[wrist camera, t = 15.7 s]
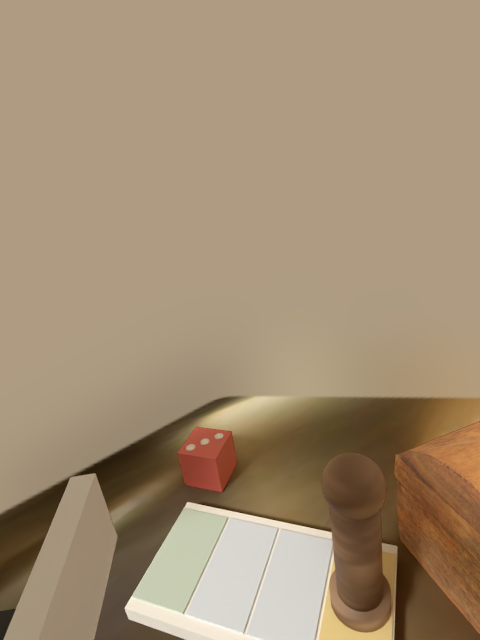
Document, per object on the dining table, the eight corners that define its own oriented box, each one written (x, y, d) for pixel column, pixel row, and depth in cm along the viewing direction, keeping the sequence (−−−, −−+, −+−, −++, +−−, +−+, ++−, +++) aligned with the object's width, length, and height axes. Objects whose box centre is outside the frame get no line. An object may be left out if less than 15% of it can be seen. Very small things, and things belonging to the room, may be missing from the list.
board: (128, 619, 37) (124, 606, 36) (190, 511, 47) (187, 500, 46) (391, 712, 28) (391, 699, 28) (397, 557, 39) (397, 544, 38)
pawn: (326, 622, 33) (310, 481, 27) (334, 567, 37) (322, 434, 31) (390, 640, 31) (387, 493, 25) (392, 579, 35) (390, 441, 29)
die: (185, 485, 51) (177, 452, 49) (202, 457, 55) (195, 426, 53) (222, 492, 49) (215, 458, 47) (237, 462, 53) (231, 430, 51)
